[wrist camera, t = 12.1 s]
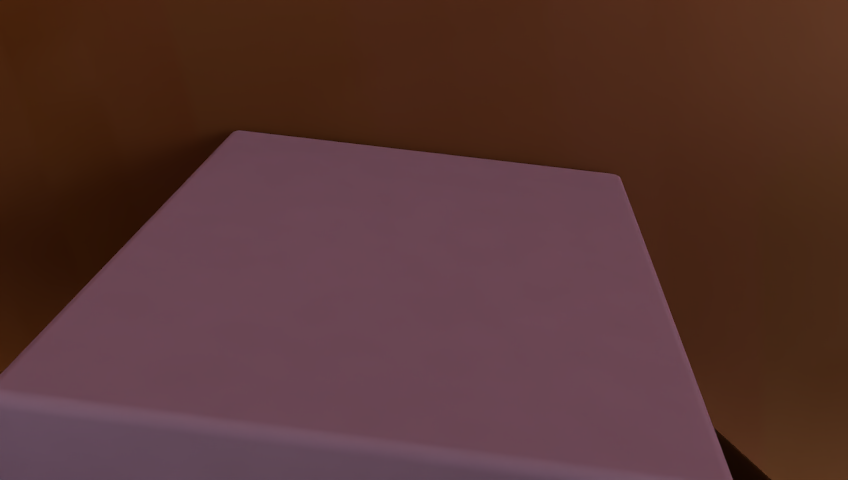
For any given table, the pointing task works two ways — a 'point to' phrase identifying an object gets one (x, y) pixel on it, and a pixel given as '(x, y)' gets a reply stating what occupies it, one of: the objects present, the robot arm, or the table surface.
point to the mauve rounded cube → (366, 332)
